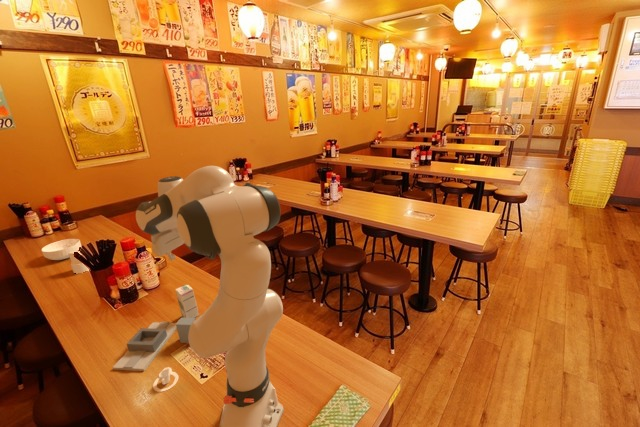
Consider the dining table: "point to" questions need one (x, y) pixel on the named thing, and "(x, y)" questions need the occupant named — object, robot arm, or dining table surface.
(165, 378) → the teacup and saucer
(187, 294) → the syrup box
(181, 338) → the block
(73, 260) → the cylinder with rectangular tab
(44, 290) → the dining table surface
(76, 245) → the bowl
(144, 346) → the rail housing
